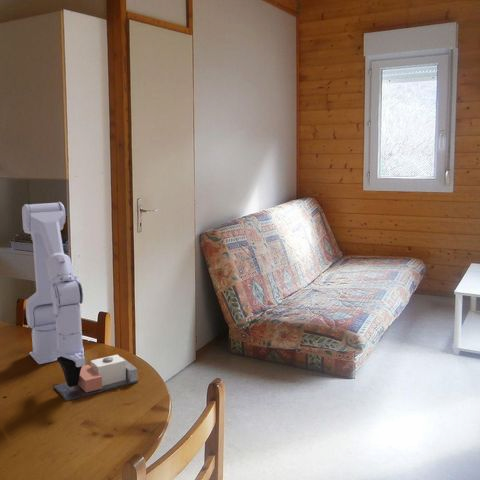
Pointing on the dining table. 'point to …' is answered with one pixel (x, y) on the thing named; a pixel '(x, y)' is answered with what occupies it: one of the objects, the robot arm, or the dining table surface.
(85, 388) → the block
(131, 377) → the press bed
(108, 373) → the block
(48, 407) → the dining table surface
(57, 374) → the dining table surface
